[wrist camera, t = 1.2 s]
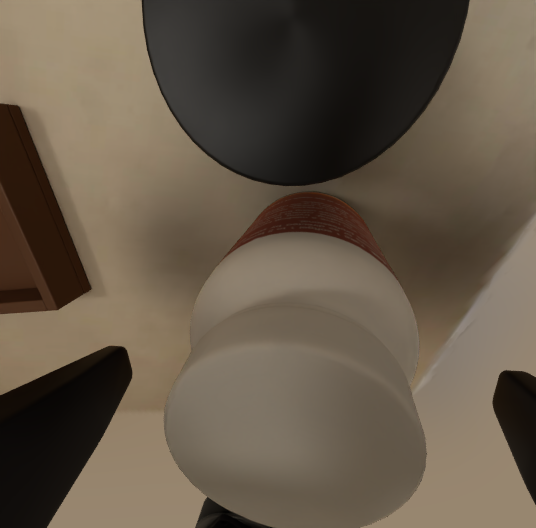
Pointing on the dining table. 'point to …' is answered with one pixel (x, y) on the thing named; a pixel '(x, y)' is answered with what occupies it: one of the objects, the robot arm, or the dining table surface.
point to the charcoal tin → (299, 78)
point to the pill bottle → (301, 375)
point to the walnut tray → (32, 229)
